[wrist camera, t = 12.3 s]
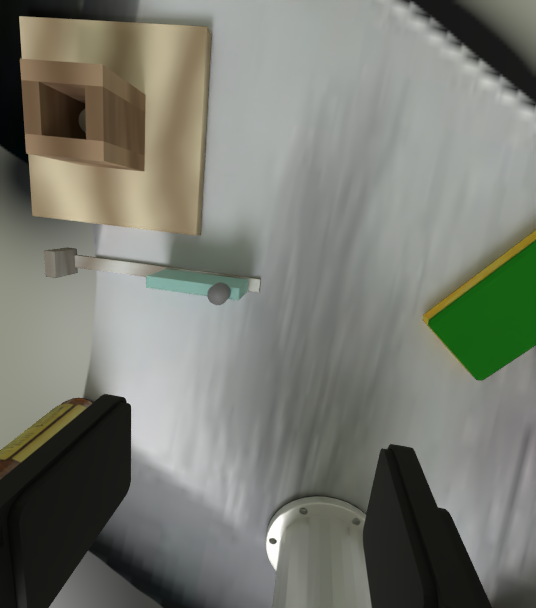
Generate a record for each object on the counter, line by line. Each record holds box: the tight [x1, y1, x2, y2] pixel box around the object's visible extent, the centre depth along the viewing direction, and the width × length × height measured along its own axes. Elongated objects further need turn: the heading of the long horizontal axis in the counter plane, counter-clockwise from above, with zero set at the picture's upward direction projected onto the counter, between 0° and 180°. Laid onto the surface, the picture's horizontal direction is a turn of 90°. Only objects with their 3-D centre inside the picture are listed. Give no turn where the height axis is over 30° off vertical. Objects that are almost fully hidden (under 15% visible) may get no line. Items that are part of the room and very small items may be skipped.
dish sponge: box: [423, 230, 536, 380], centre depth 29 cm, size 7×14×2 cm, turn 133°
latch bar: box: [146, 269, 249, 305], centre depth 30 cm, size 8×2×5 cm, turn 84°
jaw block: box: [20, 59, 146, 171], centre depth 27 cm, size 6×6×6 cm
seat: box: [19, 16, 260, 292], centre depth 29 cm, size 22×21×4 cm
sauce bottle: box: [0, 398, 92, 479], centre depth 30 cm, size 6×6×20 cm
